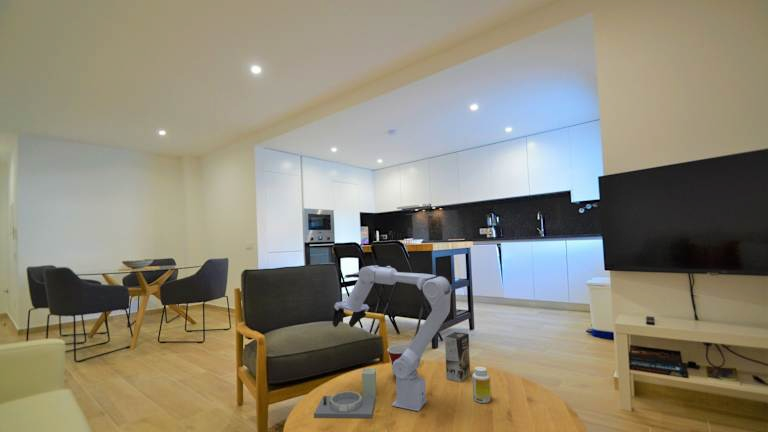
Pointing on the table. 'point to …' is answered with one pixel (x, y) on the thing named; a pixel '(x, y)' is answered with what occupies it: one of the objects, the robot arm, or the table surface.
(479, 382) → the supplement bottle
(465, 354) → the coffee box
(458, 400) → the table surface
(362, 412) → the base board
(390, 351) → the plastic cup
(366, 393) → the pale green rectangular block
